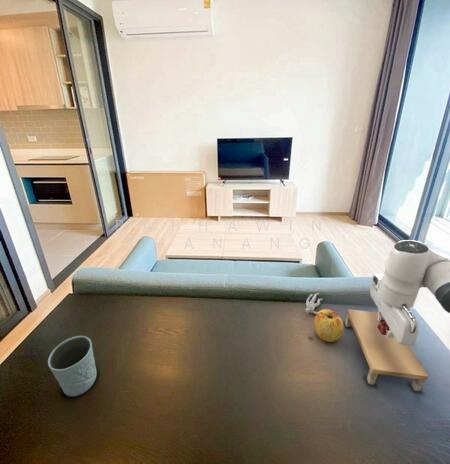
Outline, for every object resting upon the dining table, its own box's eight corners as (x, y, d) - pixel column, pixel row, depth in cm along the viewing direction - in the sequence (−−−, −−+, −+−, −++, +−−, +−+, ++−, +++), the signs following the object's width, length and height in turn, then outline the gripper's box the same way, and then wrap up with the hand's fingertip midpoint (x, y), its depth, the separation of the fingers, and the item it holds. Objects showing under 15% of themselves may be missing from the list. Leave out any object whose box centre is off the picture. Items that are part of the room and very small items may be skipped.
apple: (341, 331, 86) (346, 309, 83) (339, 352, 79) (344, 329, 75) (314, 322, 90) (318, 300, 87) (310, 341, 83) (314, 318, 79)
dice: (394, 339, 74) (397, 329, 72) (378, 336, 74) (381, 327, 73) (389, 329, 77) (392, 319, 76) (373, 326, 78) (376, 317, 76)
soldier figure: (327, 306, 99) (322, 318, 88) (316, 310, 101) (310, 322, 90) (316, 288, 101) (310, 297, 91) (306, 292, 103) (299, 302, 93)
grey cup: (106, 370, 73) (99, 340, 69) (78, 406, 64) (68, 375, 60) (80, 360, 76) (71, 331, 72) (49, 393, 67) (38, 363, 63)
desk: (384, 327, 88) (389, 313, 86) (421, 392, 68) (428, 376, 65) (344, 322, 90) (347, 309, 88) (368, 384, 70) (373, 369, 67)
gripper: (431, 323, 60) (415, 362, 65) (391, 272, 79) (381, 306, 84) (404, 320, 61) (390, 359, 66) (370, 270, 80) (361, 304, 85)
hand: (385, 329), depth 75 cm, fingers closed on dice, 4 cm apart
